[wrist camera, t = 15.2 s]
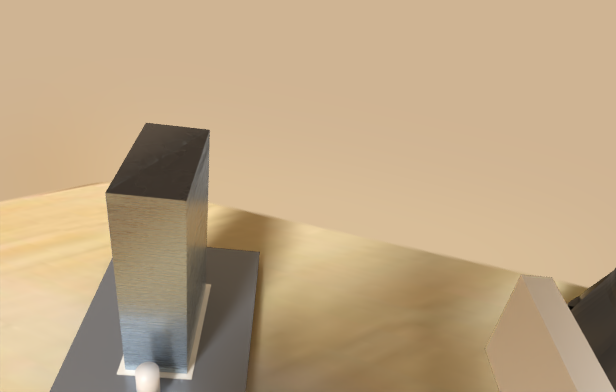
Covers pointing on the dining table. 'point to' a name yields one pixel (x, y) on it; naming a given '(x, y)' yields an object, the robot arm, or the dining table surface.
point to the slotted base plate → (207, 344)
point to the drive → (160, 244)
